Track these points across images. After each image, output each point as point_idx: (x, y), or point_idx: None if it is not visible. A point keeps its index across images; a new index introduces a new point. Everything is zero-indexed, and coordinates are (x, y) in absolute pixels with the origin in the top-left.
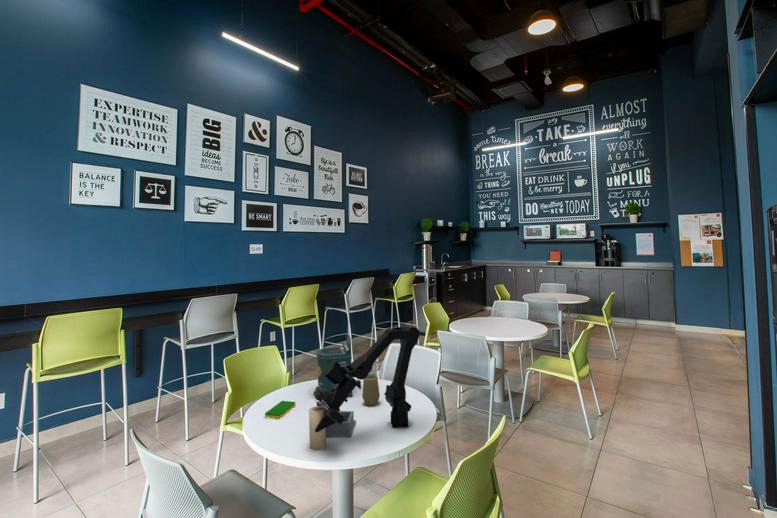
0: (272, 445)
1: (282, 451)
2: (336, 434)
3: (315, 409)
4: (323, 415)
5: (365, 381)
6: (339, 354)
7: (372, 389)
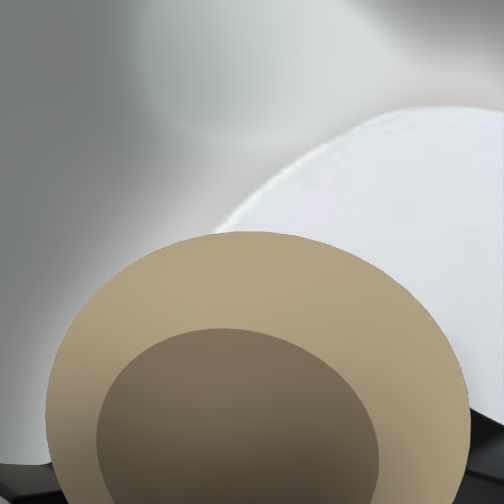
0: (370, 160)
1: (298, 199)
2: None
3: (195, 425)
4: (56, 480)
5: None
6: None
7: None
